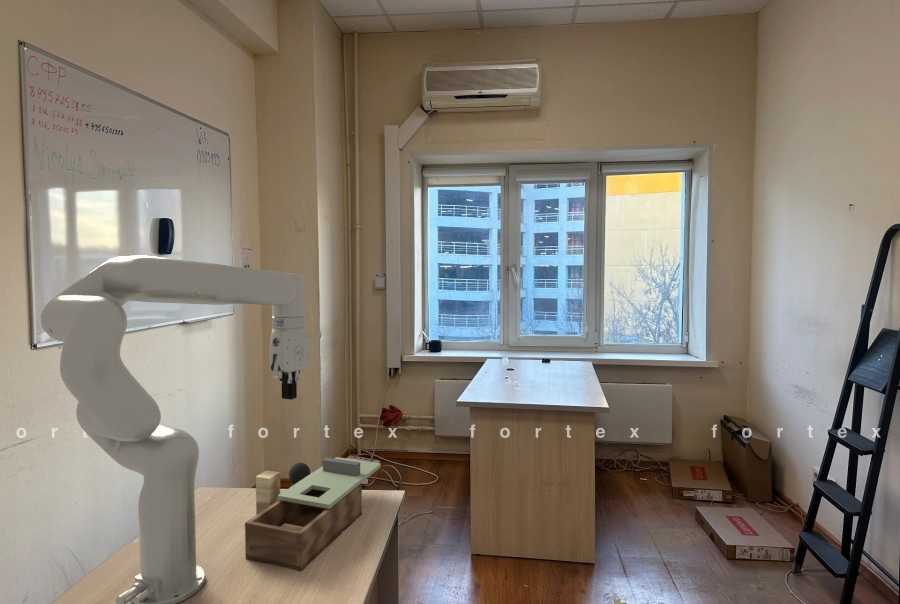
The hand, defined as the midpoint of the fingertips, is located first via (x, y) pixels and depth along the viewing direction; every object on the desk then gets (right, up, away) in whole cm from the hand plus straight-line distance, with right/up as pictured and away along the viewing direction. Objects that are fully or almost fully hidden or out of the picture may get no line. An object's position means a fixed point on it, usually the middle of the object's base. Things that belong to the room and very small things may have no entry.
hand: (289, 398), depth 122 cm
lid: (+9, -23, +5) cm, 25 cm away
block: (-6, -31, +1) cm, 31 cm away
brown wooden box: (+6, -31, -4) cm, 32 cm away
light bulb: (-2, -30, +14) cm, 34 cm away
